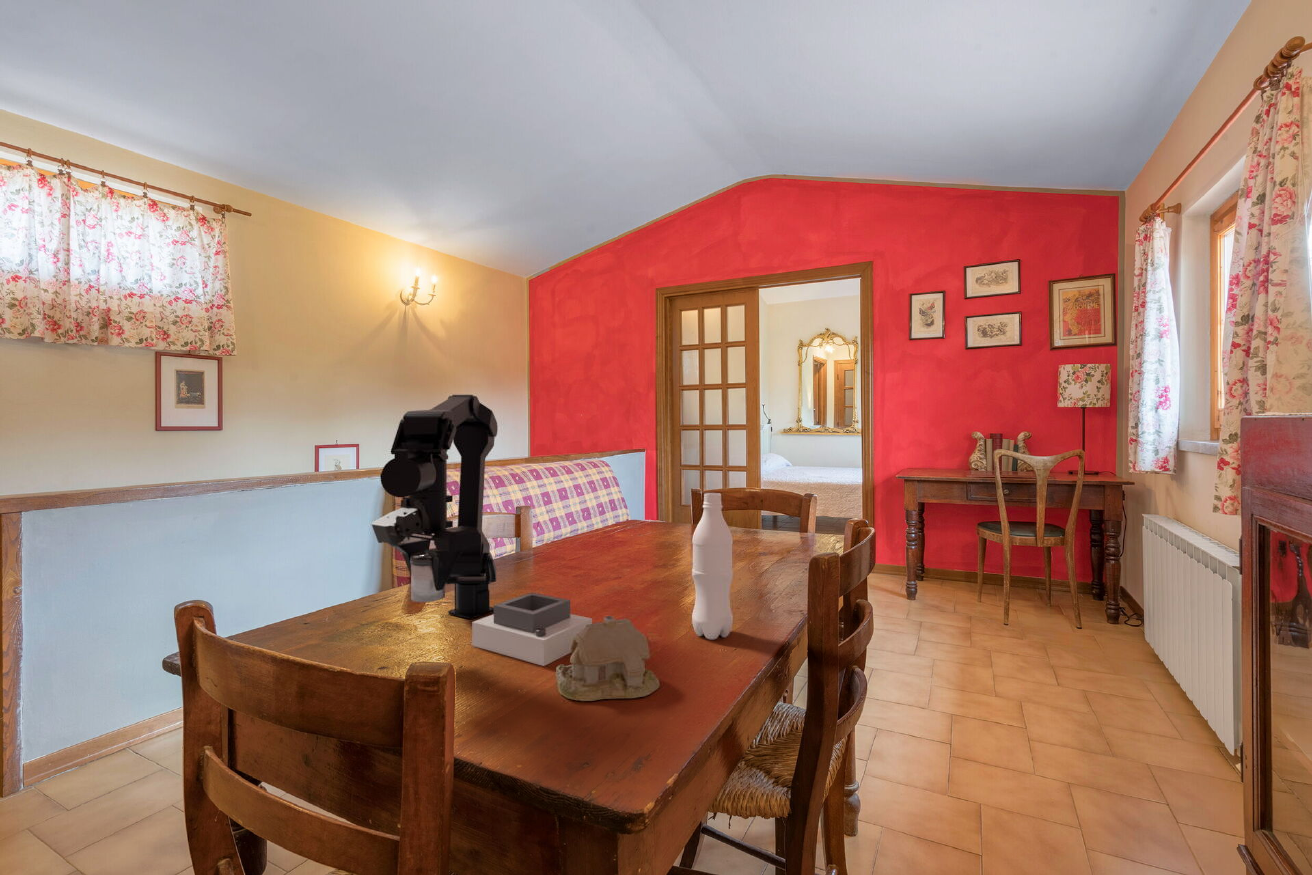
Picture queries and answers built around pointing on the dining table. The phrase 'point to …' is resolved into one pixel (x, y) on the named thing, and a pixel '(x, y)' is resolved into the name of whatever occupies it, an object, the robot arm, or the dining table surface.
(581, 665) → the ceramic model
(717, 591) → the water bottle
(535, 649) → the tray on white base
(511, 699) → the dining table surface
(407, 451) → the robot arm
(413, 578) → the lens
